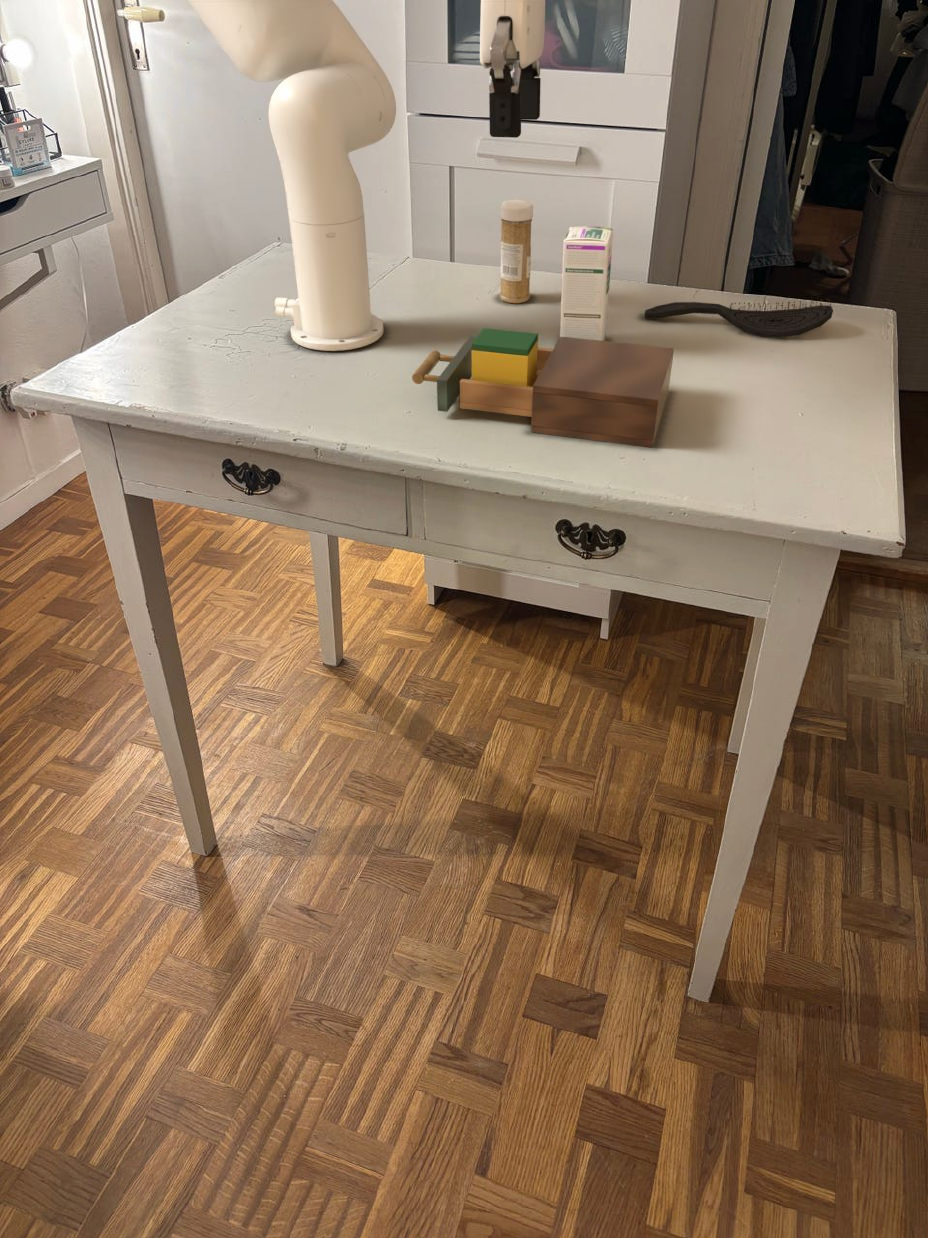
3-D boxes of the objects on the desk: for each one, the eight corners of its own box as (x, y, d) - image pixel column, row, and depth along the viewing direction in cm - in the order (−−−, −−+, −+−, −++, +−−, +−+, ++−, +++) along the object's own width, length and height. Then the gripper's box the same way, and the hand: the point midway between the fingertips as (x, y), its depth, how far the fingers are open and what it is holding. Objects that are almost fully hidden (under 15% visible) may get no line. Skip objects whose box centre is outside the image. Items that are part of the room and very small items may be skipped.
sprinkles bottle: (536, 298, 140) (540, 202, 131) (515, 306, 137) (517, 209, 129) (513, 291, 142) (516, 196, 134) (492, 298, 140) (493, 202, 131)
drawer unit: (530, 432, 106) (532, 385, 102) (557, 380, 117) (560, 336, 113) (652, 447, 103) (658, 399, 99) (668, 392, 114) (674, 347, 110)
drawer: (403, 406, 109) (402, 375, 107) (438, 361, 119) (438, 332, 117) (543, 423, 105) (545, 392, 103) (567, 376, 116) (569, 346, 113)
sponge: (471, 389, 110) (471, 343, 107) (483, 372, 114) (483, 327, 110) (526, 396, 109) (528, 349, 105) (536, 378, 112) (538, 333, 109)
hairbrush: (648, 287, 135) (832, 291, 129) (646, 312, 137) (828, 317, 131) (642, 307, 128) (836, 313, 123) (641, 334, 131) (831, 340, 125)
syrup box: (602, 355, 123) (612, 240, 114) (557, 352, 124) (563, 237, 115) (606, 338, 127) (615, 226, 118) (562, 335, 128) (568, 224, 119)
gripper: (499, -73, 98) (500, 112, 108) (454, -67, 85) (460, 143, 95) (570, -75, 96) (564, 113, 107) (536, -69, 83) (533, 145, 93)
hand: (515, 127), depth 101 cm, fingers open, 9 cm apart
